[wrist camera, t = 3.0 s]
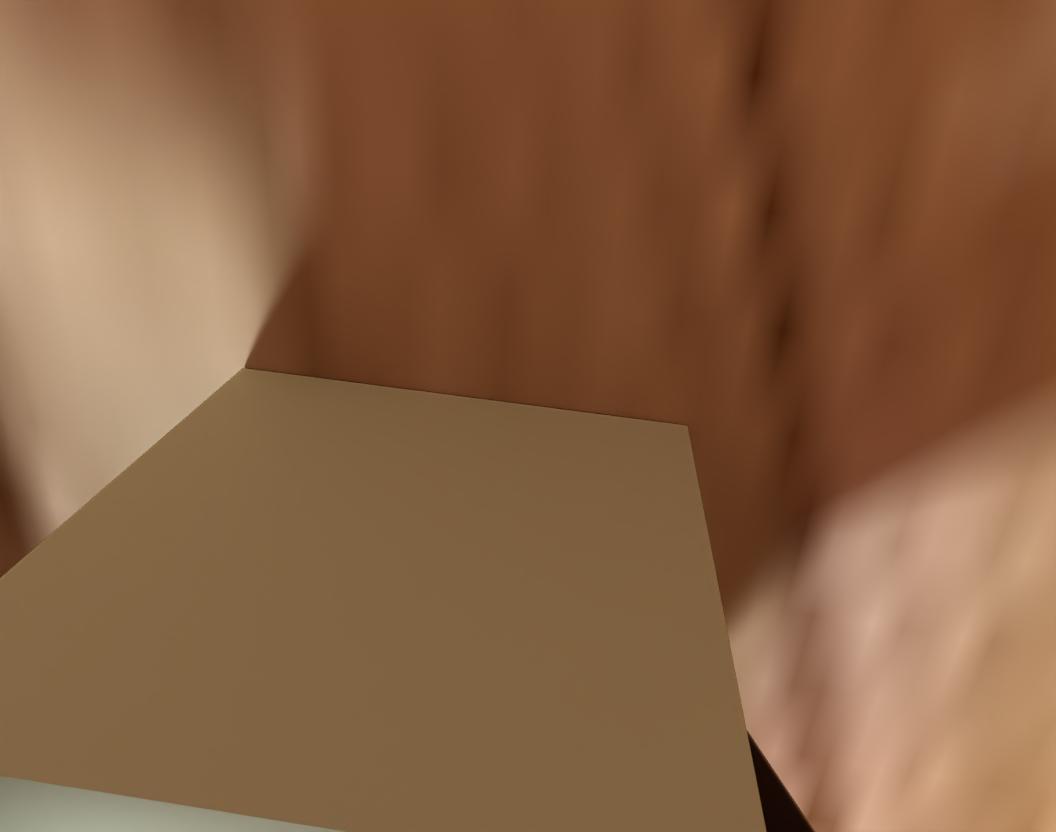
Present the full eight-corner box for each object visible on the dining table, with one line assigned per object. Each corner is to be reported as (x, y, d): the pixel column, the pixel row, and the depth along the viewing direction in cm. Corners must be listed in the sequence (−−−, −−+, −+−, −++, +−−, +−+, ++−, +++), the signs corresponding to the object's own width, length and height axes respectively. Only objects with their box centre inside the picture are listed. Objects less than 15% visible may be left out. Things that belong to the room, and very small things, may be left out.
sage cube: (687, 425, 9) (780, 902, 4) (619, 738, 11) (623, 1266, 6) (242, 368, 9) (-193, 743, 4) (273, 685, 12) (24, 1151, 7)
